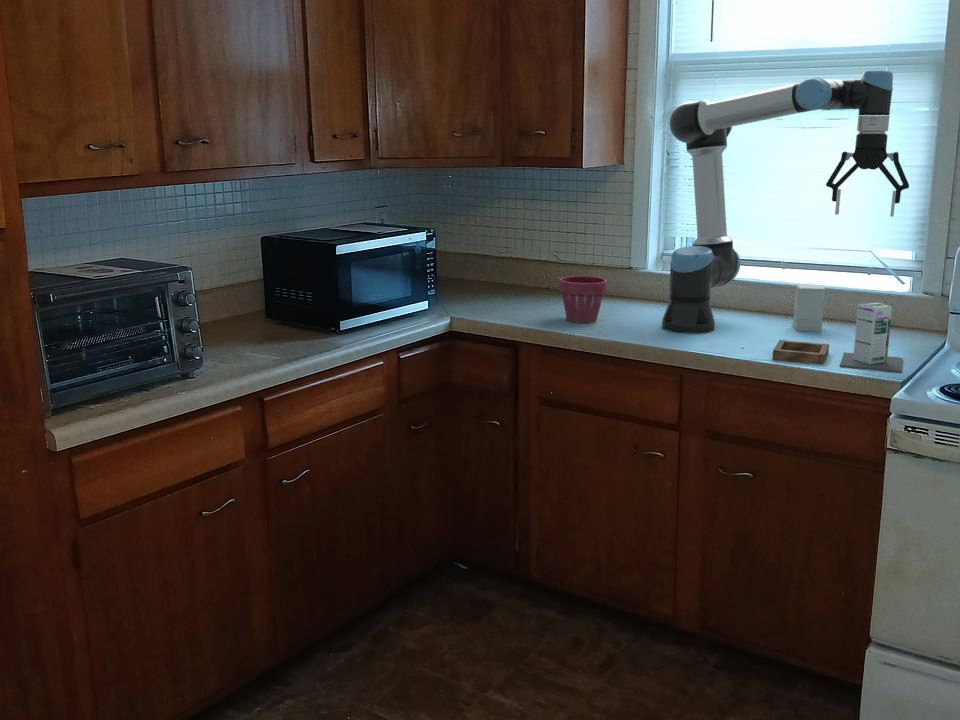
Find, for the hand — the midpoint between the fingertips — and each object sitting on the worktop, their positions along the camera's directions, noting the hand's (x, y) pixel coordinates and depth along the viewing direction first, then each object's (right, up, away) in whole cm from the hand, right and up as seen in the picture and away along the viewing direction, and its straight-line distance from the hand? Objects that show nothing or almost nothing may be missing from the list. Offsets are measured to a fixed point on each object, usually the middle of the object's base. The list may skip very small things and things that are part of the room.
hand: (864, 215), depth 250 cm
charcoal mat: (-4, -39, -13) cm, 42 cm away
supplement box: (-6, -30, +25) cm, 39 cm away
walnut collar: (-19, -38, -6) cm, 43 cm away
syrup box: (-4, -39, -13) cm, 41 cm away
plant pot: (-71, -27, +38) cm, 85 cm away
